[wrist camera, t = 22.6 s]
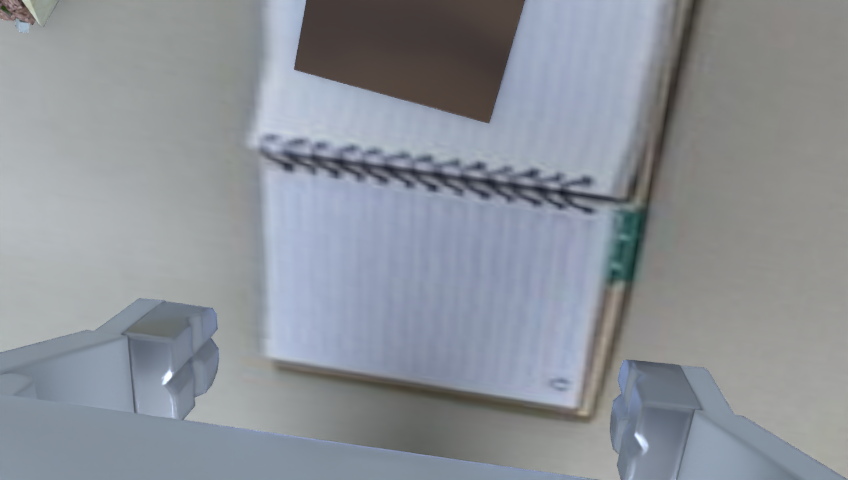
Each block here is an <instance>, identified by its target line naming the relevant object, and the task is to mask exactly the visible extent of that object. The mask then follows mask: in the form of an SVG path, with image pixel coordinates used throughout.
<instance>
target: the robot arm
mask: <svg viewBox="0 0 848 480" xmlns="http://www.w3.org/2000/svg"><path fill="white" fill-rule="evenodd" d="M217 329H218V325H217V314H216V312H215V311H214V309H213V308H210V307H203V306H196V305H189V304H182V303H175V302H166V301H165V300H154V299H141V298H139V299H138V300H136V301H135V302H134V303H132V304H131V305H129V306H128V307H127V308H125V309H124V310H123V311H121V312H120V313H118V314H117V315H116V316H114V317H113V318H112V319H110V320H109V321H107V322H106V323H105V324H103V325H102V326H100V327H99V328H98V329H96V330H95V331H91V330H85V331H81V332H78V333H74V334H70V335H66V336H62V337H58V338H55V339H51V340H47V341H43V342H39V343H35V344H32V345H28V346H24V347H20V348H16V349H12V350H8V351H5V352H1V353H0V480H597V479H590V478H583V477H576V476H569V475H562V474H555V473H548V472H541V471H534V470H527V469H520V468H513V467H506V466H499V465H492V464H485V463H478V462H471V461H464V460H457V459H451V458H444V457H437V456H430V455H423V454H416V453H409V452H402V451H395V450H388V449H381V448H374V447H367V446H360V445H353V444H346V443H339V442H333V441H326V440H319V439H312V438H305V437H298V436H291V435H284V434H277V433H270V432H263V431H256V430H249V429H242V428H235V427H228V426H222V425H215V424H208V423H201V422H194V421H187V420H184V418H185V417H186V416H187V415H188V414H189V412H190V411H191V410H192V409H193V408H194V406H195V397H197V396H199V395H202V394H204V393H206V392H207V391H208V389H209V388H210V387H211V385H212V384H213V381H214V379H215V376H216V373H217V370H218V362H219V348H218V347H217V346H216V344H215V343H214V341H213V340H212V339H211V337H212V336H213V334H214V333H215V332H216V330H217ZM618 383H619V387H620V390H621V394H620V395H619V396H618V397H617V398H616V399H614V400H613V406H612V412H611V422H610V435H611V442H612V447H613V450H615V451H616V452H617V453H618V454H619V458H618V463H617V467H618V471H619V475H620V479H621V480H848V479H846V478H845V477H843V476H841V475H840V474H838V473H836V472H835V471H833V470H831V469H830V468H828V467H827V466H825V465H823V464H822V463H820V462H818V461H817V460H815V459H813V458H812V457H810V456H808V455H807V454H805V453H803V452H802V451H800V450H799V449H797V448H795V447H794V446H792V445H790V444H789V443H787V442H785V441H784V440H782V439H780V438H779V437H777V436H775V435H774V434H772V433H771V432H769V431H767V430H766V429H764V428H762V427H761V426H759V425H757V424H756V423H754V422H752V421H751V420H749V419H747V418H746V417H744V416H740V415H735V414H734V413H733V411H732V409H731V408H730V406H729V404H728V403H727V401H726V399H725V398H724V396H723V394H722V393H721V391H720V389H719V388H718V386H717V384H716V383H715V381H714V379H713V377H712V376H711V374H710V372H709V371H708V370H707V369H705V368H703V367H691V366H680V365H675V364H665V363H655V362H646V361H636V360H623V362H622V365H621V367H620V371H619V376H618Z"/></svg>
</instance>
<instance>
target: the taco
mask: <svg viewBox="0 0 848 480" xmlns="http://www.w3.org/2000/svg"><path fill="white" fill-rule="evenodd" d="M57 2H58V0H0V18H1V19H3V20H12V21H14V20H16V25H15V26H16V28H17V29H18V30H19V31H20V32H28V33H29V23H30V24H32V25H33V24H34V22H35V20H36V21H37V22H38V23H39V25H40V26H41V27H44V25H45V23H46V22H47V20H48V18H49V16H50V15H51V13H52V11H53V9H54V7H55V6H56V4H57Z"/></svg>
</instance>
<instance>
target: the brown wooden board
mask: <svg viewBox="0 0 848 480" xmlns="http://www.w3.org/2000/svg"><path fill="white" fill-rule="evenodd" d="M524 1H525V0H307V1H306V6H305V12H304V17H303V23H302V28H301V34H300V39H299V45H298V50H297V56H296V61H295V67H294V70H297V71H301V72H304V73H308V74H312V75H315V76H319V77H323V78H326V79H330V80H333V81H337V82H341V83H344V84H348V85H352V86H355V87H359V88H362V89H366V90H370V91H373V92H377V93H380V94H384V95H388V96H391V97H395V98H399V99H402V100H406V101H409V102H413V103H417V104H420V105H424V106H428V107H431V108H435V109H438V110H442V111H446V112H449V113H453V114H457V115H460V116H464V117H467V118H471V119H475V120H478V121H482V122H486V123H489V122H490V119H491V115H492V112H493V108H494V105H495V101H496V98H497V94H498V91H499V87H500V84H501V81H502V77H503V74H504V70H505V67H506V63H507V60H508V56H509V53H510V50H511V46H512V43H513V39H514V36H515V32H516V29H517V25H518V22H519V18H520V15H521V12H522V8H523V5H524Z"/></svg>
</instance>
